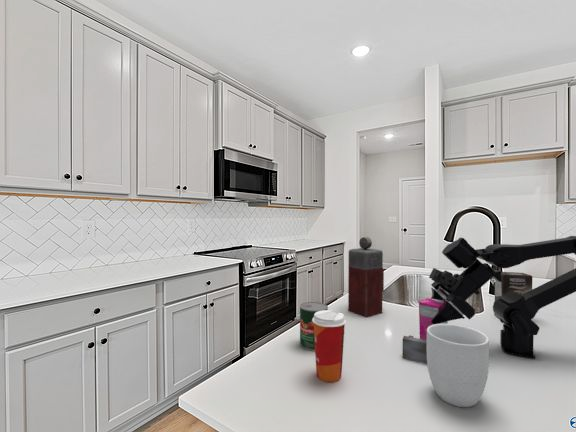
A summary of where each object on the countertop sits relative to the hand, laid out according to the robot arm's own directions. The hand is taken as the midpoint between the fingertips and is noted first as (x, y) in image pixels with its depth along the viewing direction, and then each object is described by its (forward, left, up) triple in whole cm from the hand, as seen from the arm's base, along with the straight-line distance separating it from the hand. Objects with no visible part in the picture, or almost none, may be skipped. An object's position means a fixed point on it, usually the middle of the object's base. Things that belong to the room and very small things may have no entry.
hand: (428, 317), depth 86 cm
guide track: (-1, +6, -7) cm, 10 cm away
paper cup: (+18, +30, -8) cm, 35 cm away
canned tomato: (+28, +17, -8) cm, 33 cm away
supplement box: (-1, 0, -7) cm, 7 cm away
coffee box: (-23, -37, -8) cm, 44 cm away
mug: (-8, +23, -8) cm, 25 cm away
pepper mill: (+23, -19, -8) cm, 31 cm away
